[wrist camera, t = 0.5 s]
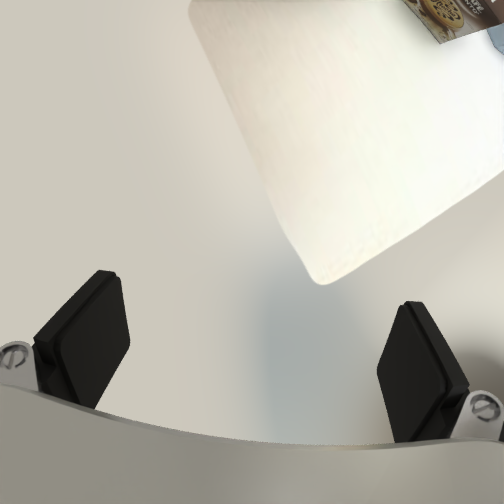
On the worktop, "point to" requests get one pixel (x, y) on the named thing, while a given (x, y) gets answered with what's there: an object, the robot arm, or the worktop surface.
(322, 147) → the worktop surface
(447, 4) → the coffee box
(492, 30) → the cup
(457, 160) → the worktop surface
